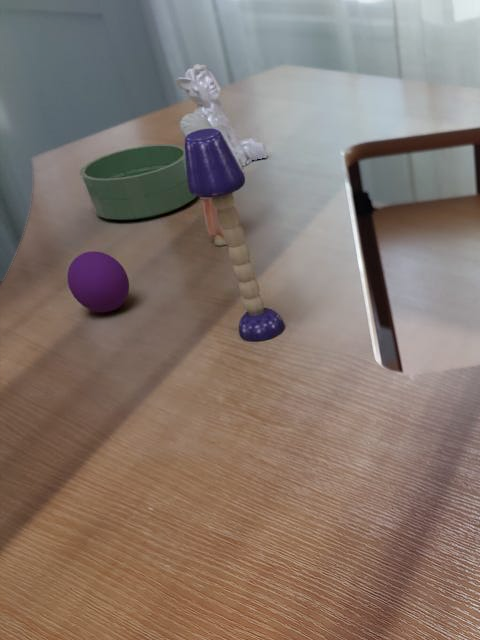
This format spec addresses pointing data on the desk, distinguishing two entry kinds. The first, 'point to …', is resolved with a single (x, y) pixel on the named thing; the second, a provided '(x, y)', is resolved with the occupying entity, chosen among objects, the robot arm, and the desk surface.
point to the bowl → (138, 182)
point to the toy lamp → (229, 223)
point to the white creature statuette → (218, 113)
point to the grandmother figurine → (210, 211)
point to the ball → (98, 281)
